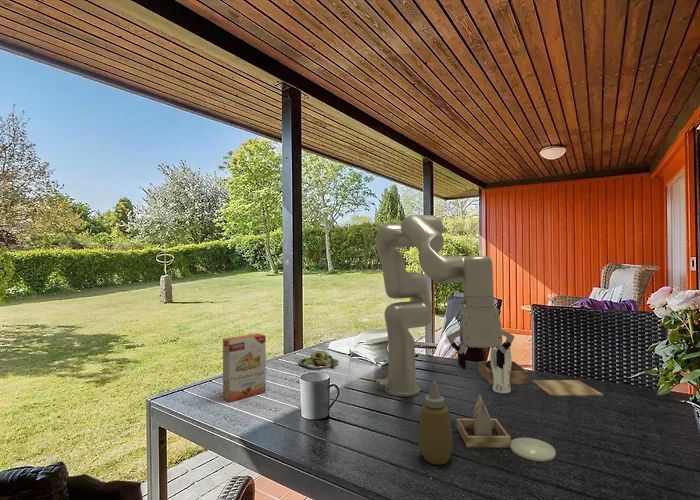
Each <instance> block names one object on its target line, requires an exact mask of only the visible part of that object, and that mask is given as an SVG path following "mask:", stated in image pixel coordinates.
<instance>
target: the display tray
mask: <svg viewBox="0 0 700 500" xmlns="http://www.w3.org/2000/svg"><path fill="white" fill-rule="evenodd" d="M487 361H488V360H487ZM487 361H485V360H484V361H478V373H479V375H480V376H481V377H482V378H483V379H484V380H485V381H486V382H487V383H488V384H489V385H493V384H494V378H493V372H492V369H490V368H488V367H487V366H486V365H485V364H486V362H487ZM529 381H530V380H529V371H528V370H527V369H526V368H524V367H522V366H521V365H520V364H518V363H517V362H516V361H512V366H511V373H510V385H529V384H530V383H529Z"/></svg>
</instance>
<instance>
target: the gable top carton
mask: <svg viewBox="0 0 700 500" xmlns="http://www.w3.org/2000/svg"><path fill="white" fill-rule="evenodd" d="M472 413H473V418H472V419H473V421H474V429H473V433H474V436H493V435H492V429H491V419H492V418H491V417H490V413H489V411H488V409H487V407H486V405H485V403H484V402H483V398H482V396H481V394H478V397H477V401H476V402H475V405H474V407H473V410H472Z"/></svg>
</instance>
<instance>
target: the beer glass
mask: <svg viewBox="0 0 700 500" xmlns="http://www.w3.org/2000/svg"><path fill="white" fill-rule="evenodd" d="M497 351H498V349H497V348H496V347H490V360H491V367H492V372H493V378H494V384H492V390H493V392H494V393H498V394H504V395H505V394H510V393H511V392H512V389H511V384H510V373H511V366H512V360H513V359H512V348H511V347H509V348H508V349H507V350H506V353H504V354H505V365H503V369H501V368H499V367H498V366H497V360H496V352H497Z"/></svg>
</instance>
